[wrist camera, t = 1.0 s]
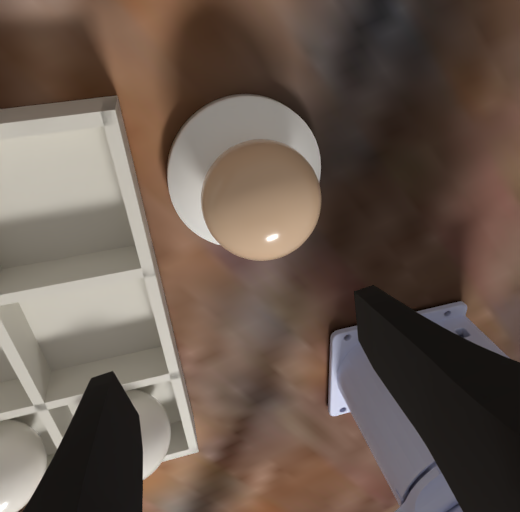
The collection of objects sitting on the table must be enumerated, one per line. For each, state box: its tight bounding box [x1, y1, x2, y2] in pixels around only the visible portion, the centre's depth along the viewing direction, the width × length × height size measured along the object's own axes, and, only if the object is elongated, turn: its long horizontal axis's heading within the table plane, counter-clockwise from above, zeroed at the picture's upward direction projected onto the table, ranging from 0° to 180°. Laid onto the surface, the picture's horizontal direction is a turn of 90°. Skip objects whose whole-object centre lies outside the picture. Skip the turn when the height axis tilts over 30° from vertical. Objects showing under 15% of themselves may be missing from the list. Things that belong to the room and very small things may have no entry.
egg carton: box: [0, 96, 199, 472], centre depth 20 cm, size 14×20×2 cm
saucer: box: [167, 94, 321, 245], centre depth 19 cm, size 7×7×1 cm
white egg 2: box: [125, 389, 171, 480], centre depth 22 cm, size 5×5×5 cm
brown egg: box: [201, 139, 321, 261], centre depth 17 cm, size 5×5×5 cm
